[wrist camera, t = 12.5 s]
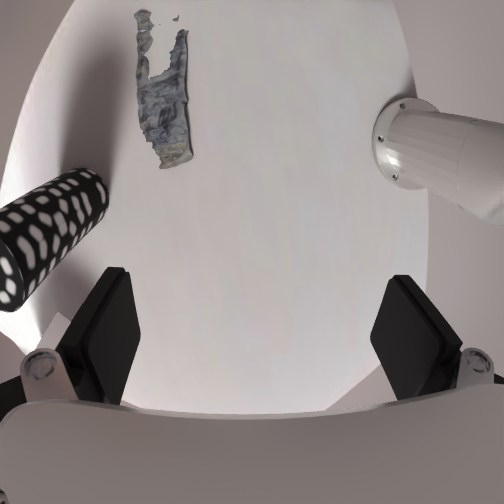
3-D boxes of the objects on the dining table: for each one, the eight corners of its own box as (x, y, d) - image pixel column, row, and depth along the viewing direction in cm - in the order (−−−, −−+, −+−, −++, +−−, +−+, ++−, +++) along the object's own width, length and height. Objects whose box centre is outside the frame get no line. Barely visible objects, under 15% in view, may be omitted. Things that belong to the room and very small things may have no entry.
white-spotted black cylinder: (97, 236, 39) (22, 327, 21) (52, 209, 36) (-38, 282, 18) (118, 185, 36) (30, 258, 18) (69, 157, 33) (-37, 209, 16)
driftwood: (194, 166, 36) (192, 169, 34) (142, 170, 36) (137, 173, 34) (192, 9, 27) (189, 3, 25) (138, 16, 27) (133, 12, 25)
